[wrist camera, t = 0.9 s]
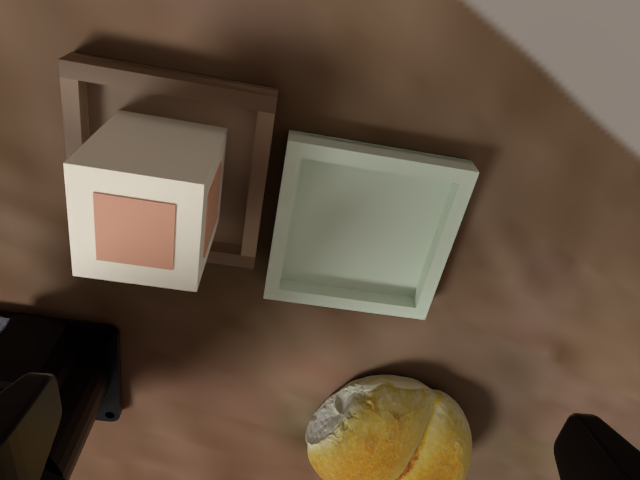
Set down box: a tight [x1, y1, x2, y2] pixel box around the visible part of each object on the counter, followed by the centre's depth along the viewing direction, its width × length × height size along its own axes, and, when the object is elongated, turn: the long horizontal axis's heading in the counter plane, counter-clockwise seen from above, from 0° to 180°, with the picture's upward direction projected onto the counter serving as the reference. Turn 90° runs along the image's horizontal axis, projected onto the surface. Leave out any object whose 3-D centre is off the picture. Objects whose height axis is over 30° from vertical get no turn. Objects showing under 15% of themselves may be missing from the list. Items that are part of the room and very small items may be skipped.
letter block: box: [63, 110, 228, 292], centre depth 18 cm, size 4×4×5 cm
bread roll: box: [305, 375, 472, 480], centre depth 27 cm, size 8×9×4 cm
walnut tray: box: [58, 52, 279, 269], centre depth 20 cm, size 7×7×1 cm
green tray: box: [263, 130, 480, 320], centre depth 22 cm, size 7×7×1 cm
